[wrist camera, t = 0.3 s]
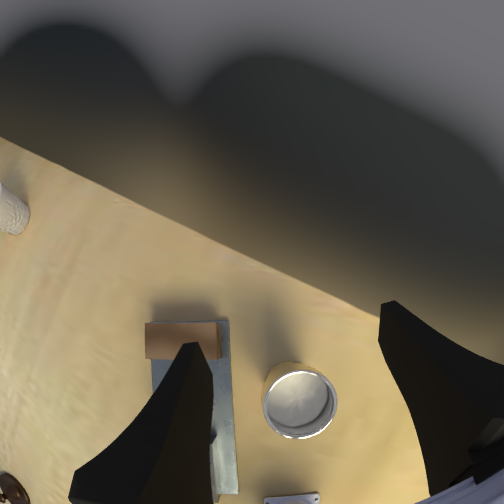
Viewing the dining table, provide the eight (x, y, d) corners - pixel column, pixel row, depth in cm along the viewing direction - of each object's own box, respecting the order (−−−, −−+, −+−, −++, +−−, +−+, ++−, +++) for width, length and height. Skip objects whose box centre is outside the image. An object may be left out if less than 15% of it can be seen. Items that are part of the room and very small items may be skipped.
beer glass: (251, 386, 38) (243, 410, 24) (285, 347, 40) (296, 351, 25) (290, 417, 37) (304, 454, 22) (324, 378, 38) (355, 396, 24)
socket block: (222, 357, 39) (217, 359, 34) (157, 357, 39) (145, 358, 35) (220, 324, 40) (215, 322, 36) (157, 325, 40) (144, 323, 36)
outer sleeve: (238, 492, 33) (235, 507, 29) (165, 487, 34) (154, 500, 29) (229, 320, 41) (224, 318, 36) (152, 322, 41) (138, 319, 36)
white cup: (12, 246, 46) (-21, 229, 36) (4, 220, 48) (-27, 201, 38) (36, 219, 47) (4, 197, 38) (26, 194, 49) (-3, 172, 40)
